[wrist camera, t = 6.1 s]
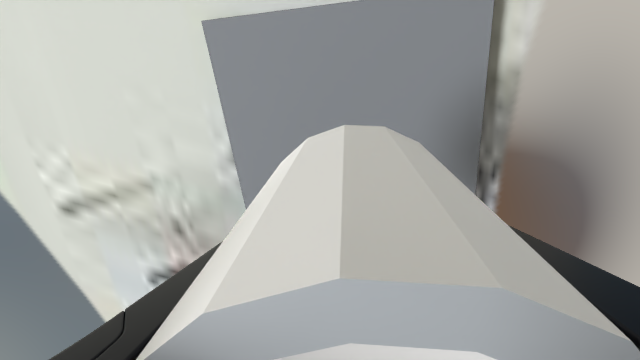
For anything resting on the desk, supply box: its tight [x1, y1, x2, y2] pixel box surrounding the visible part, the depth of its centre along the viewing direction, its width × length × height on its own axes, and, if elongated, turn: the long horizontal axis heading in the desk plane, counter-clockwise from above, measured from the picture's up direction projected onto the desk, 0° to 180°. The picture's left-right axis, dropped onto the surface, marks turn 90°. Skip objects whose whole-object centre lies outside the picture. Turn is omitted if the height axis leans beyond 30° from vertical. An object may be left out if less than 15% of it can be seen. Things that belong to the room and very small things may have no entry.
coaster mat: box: [202, 0, 494, 209], centre depth 16 cm, size 12×12×1 cm
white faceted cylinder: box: [136, 125, 640, 360], centre depth 7 cm, size 7×7×7 cm
